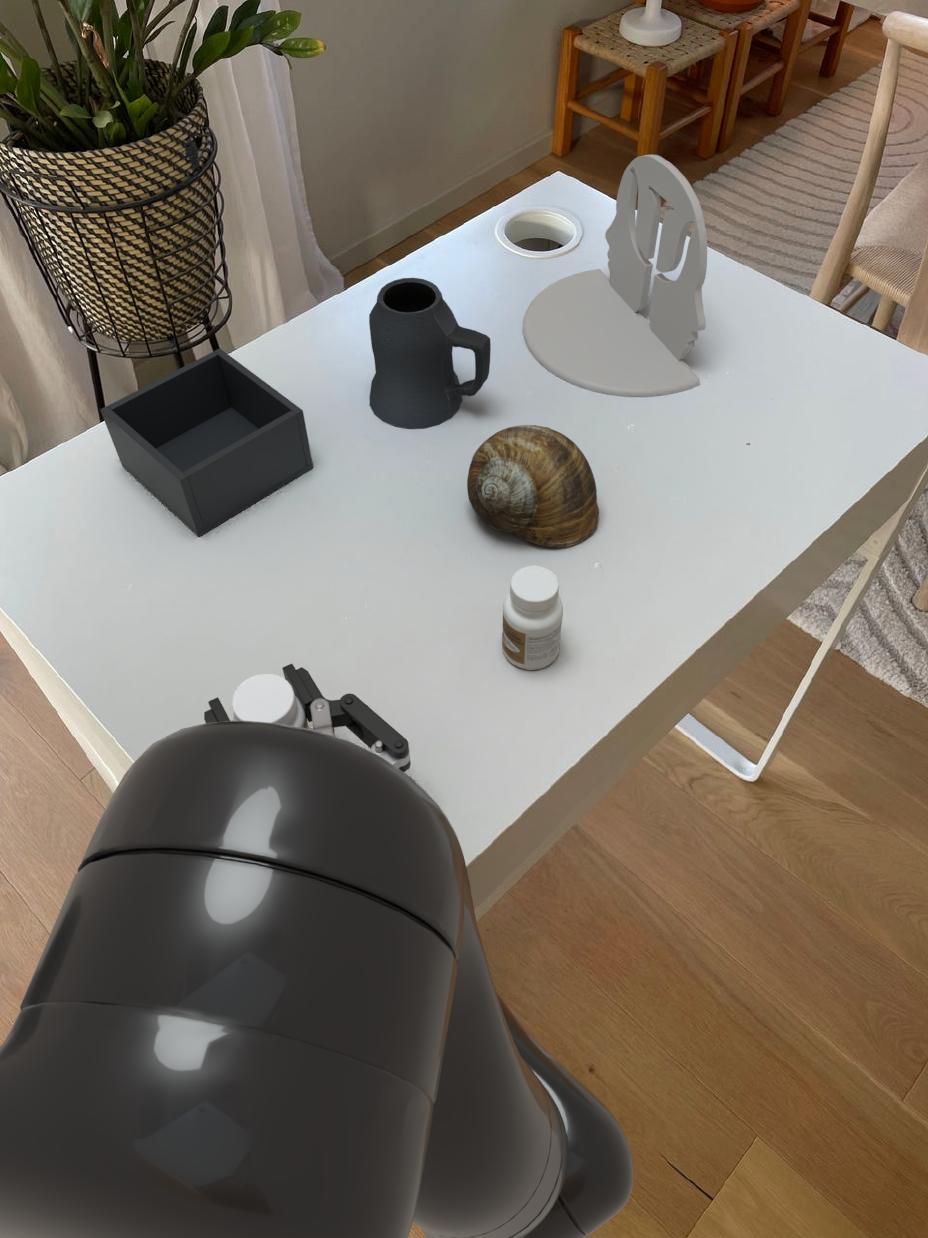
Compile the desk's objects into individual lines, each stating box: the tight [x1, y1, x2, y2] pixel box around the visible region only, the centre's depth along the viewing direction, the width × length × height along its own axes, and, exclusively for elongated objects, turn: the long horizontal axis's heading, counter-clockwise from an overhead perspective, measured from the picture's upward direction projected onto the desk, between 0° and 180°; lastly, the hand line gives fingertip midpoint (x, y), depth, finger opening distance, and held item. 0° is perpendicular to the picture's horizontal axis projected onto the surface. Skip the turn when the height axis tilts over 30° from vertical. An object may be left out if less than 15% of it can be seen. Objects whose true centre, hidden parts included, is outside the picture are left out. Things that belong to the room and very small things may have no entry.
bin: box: [100, 348, 314, 538], centre depth 84 cm, size 12×12×7 cm
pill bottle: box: [501, 565, 564, 671], centre depth 71 cm, size 4×4×8 cm
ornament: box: [522, 154, 708, 398], centre depth 92 cm, size 22×13×17 cm, turn 22°
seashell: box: [466, 424, 600, 548], centre depth 79 cm, size 11×9×8 cm
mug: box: [368, 277, 492, 430], centre depth 88 cm, size 12×9×11 cm
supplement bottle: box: [231, 673, 310, 729], centre depth 64 cm, size 5×5×8 cm
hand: (252, 690), depth 64 cm, fingers closed on supplement bottle, 4 cm apart
